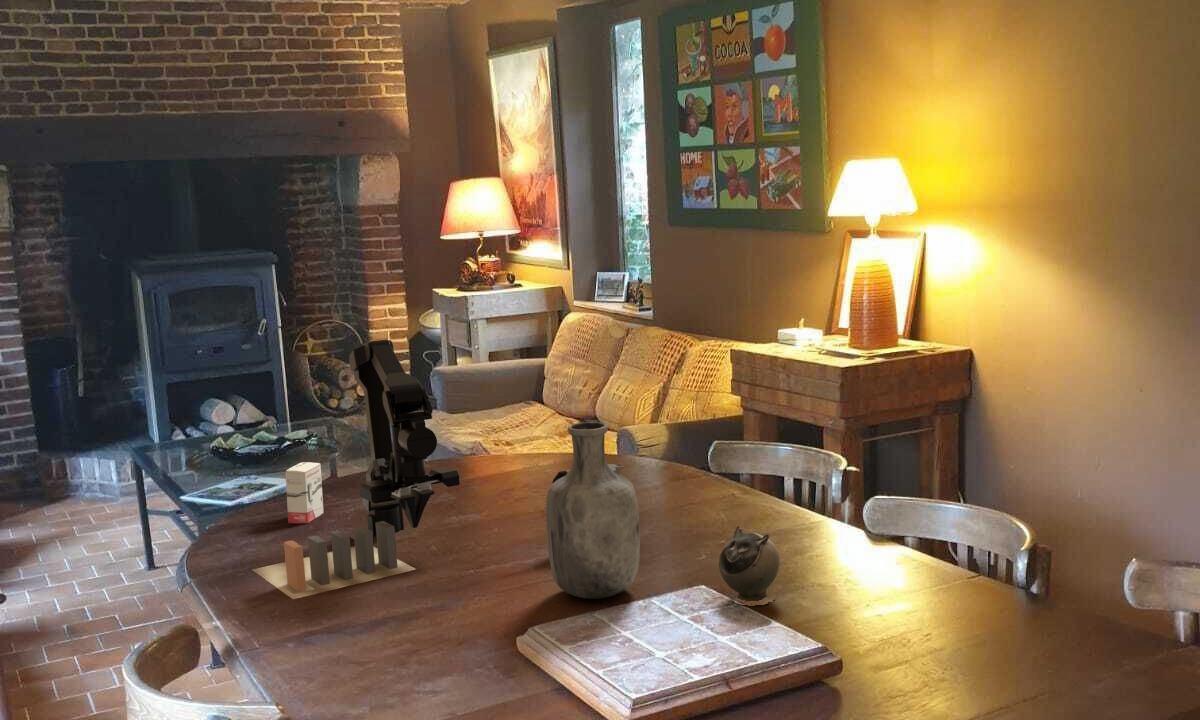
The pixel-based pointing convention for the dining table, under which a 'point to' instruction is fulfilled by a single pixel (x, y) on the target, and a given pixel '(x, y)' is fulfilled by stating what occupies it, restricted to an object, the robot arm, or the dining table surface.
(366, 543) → the domino
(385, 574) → the domino board
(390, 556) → the domino
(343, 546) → the domino
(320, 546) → the domino
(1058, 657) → the dining table surface
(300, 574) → the end tile
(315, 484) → the ink box
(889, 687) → the dining table surface
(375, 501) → the robot arm
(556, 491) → the vase
